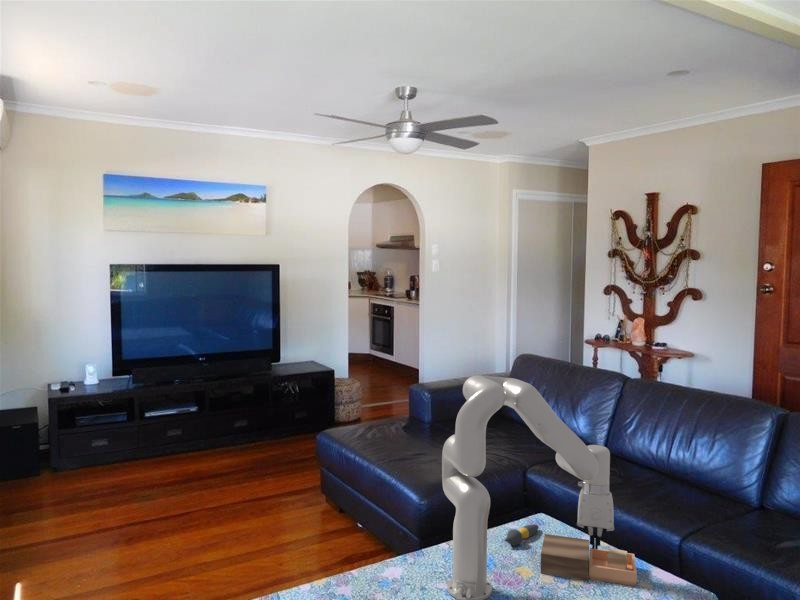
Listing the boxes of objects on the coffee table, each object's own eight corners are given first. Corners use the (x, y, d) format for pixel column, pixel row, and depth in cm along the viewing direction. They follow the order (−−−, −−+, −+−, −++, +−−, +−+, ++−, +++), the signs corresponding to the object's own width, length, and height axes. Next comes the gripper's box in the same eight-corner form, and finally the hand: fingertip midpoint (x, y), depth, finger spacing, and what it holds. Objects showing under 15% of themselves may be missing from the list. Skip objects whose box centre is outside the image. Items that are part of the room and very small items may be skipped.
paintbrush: (527, 527, 212) (528, 513, 211) (541, 530, 209) (541, 516, 208) (500, 548, 196) (501, 533, 196) (514, 552, 193) (514, 537, 193)
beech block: (607, 554, 178) (607, 571, 179) (625, 558, 176) (625, 575, 176) (609, 547, 183) (609, 563, 183) (627, 551, 181) (626, 567, 181)
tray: (636, 586, 172) (636, 572, 172) (588, 579, 176) (589, 565, 176) (634, 566, 183) (634, 553, 183) (589, 560, 188) (589, 547, 187)
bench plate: (588, 580, 175) (588, 560, 175) (540, 573, 180) (540, 553, 179) (588, 558, 189) (589, 539, 188) (544, 552, 193) (544, 533, 192)
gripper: (569, 488, 179) (568, 549, 180) (623, 494, 174) (621, 556, 175) (570, 480, 186) (569, 538, 187) (622, 486, 181) (620, 545, 182)
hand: (594, 547), depth 181 cm, fingers closed
